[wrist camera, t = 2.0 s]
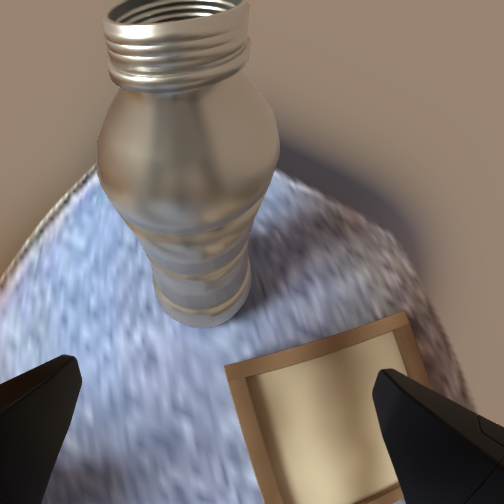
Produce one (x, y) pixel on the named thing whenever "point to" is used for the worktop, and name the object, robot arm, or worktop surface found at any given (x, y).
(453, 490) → the robot arm
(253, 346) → the worktop surface
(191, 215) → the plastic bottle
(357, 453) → the stand
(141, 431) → the worktop surface
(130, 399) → the worktop surface
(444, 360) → the worktop surface
